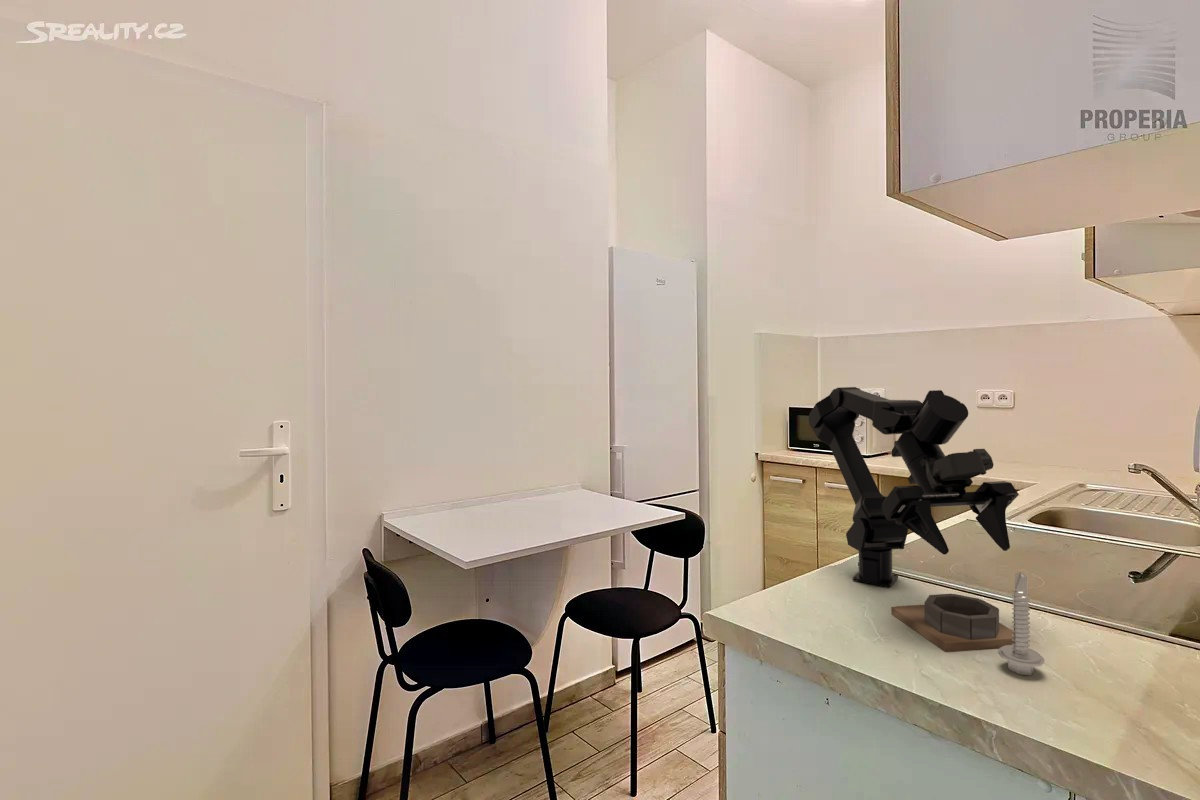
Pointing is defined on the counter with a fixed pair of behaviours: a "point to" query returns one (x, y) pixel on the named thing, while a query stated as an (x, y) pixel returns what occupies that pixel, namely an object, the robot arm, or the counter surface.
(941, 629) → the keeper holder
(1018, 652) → the screw
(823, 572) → the counter surface
